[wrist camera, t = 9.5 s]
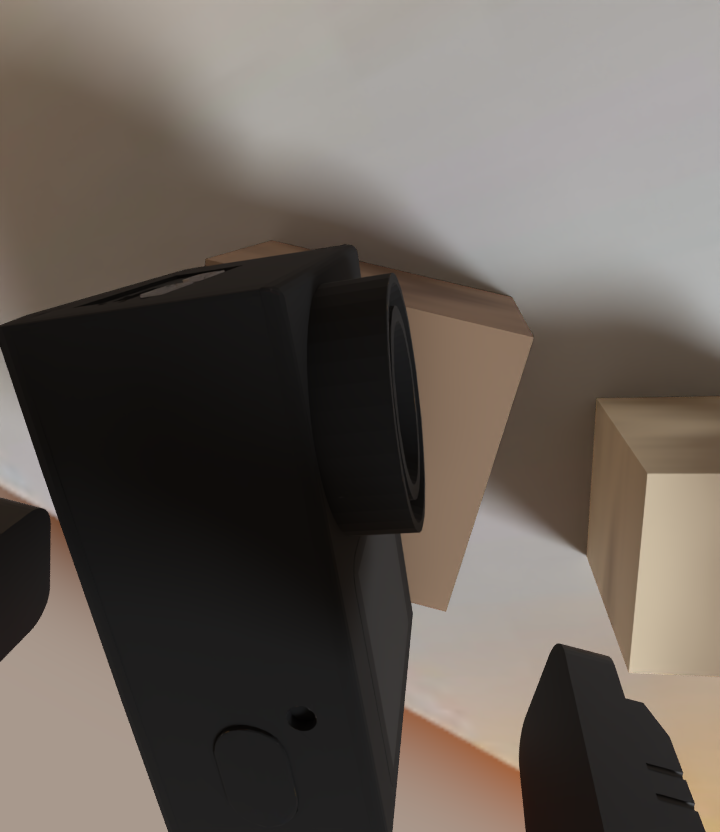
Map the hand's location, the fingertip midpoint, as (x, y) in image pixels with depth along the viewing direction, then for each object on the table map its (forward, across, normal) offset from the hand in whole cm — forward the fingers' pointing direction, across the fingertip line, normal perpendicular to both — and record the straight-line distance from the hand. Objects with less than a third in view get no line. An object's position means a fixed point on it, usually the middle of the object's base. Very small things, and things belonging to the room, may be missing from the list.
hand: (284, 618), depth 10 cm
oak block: (+13, -11, +1) cm, 17 cm away
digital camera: (+7, +1, 0) cm, 7 cm away
